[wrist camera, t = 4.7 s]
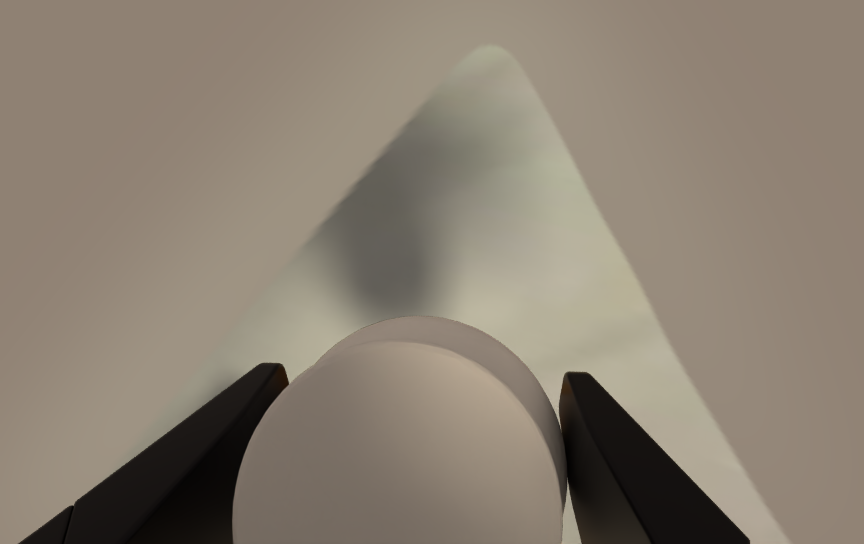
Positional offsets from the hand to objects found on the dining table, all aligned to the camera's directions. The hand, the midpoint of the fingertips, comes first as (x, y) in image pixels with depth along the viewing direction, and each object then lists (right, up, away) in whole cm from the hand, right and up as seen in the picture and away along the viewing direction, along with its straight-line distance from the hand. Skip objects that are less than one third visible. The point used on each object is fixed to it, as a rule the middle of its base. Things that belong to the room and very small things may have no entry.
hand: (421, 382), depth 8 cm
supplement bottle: (0, -3, +6) cm, 7 cm away
